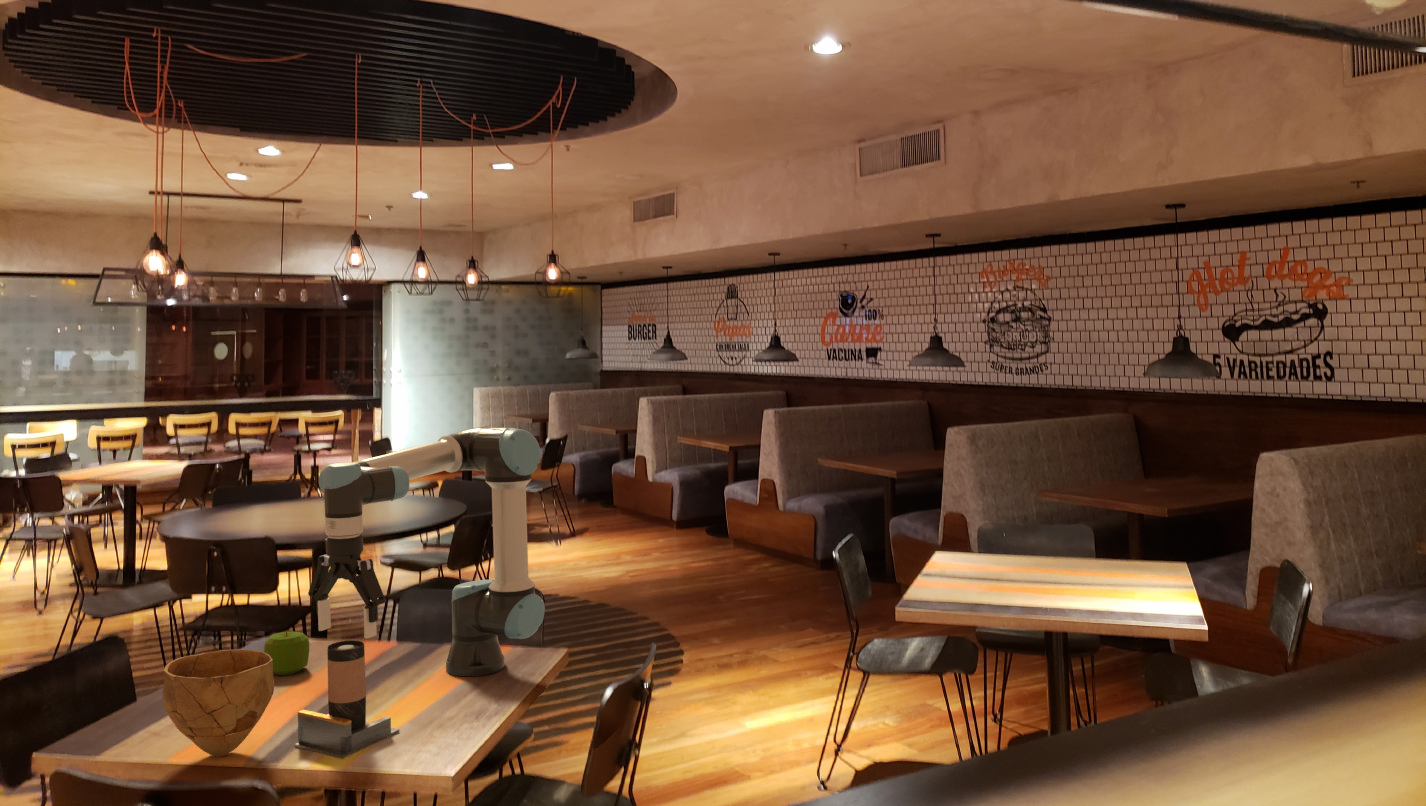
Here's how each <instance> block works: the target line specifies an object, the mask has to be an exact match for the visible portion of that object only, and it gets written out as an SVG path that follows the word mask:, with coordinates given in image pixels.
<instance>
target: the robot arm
mask: <svg viewBox="0 0 1426 806" xmlns="http://www.w3.org/2000/svg"><path fill="white" fill-rule="evenodd" d="M541 455H542V454H541V448H540V445H539V442H538V440H537V438H536V437H535V436H534V435H533V434H532V433H531V432H530V431H528V430H526V429H522V428H517V427H501V426H500V427H497V426H496V427H494V426H478V427H474V428H469V429H465V430H461V431H458V432H454V433H452V434H451V433H450V434H446V435H443V436H441V437H439V439H438V440H437V441H436V442H431V443H430V442H429V443H427V444H424V445H419V446H415V447H409V448H407V449H403V450H399V451H394V452H391V453H387V454H382V455H379V456H378V455H377V456H374V457H370V458H366V459H362V460H358V461H353V462H337V463H329V464H328V465H326V466H324V467H323V468H322V470H321V471H320V473H319V476H318V486H319V489H320V490H321V492H323V500H324V501H323V502H324V520H325V521H324V522H325V524H324V526H325V527H324V528H325V530H324V531H325V535H326V536H327V537H326V538H325V553H326V554H323V555H319V556H318V557H317V566H316V568H315V571H314V575H313V577H312V581H311V584H310V587H309V590H308V593H307V594H308V596H309V597H312V598H314V600H315V603H316V604H315V606H316V609H315V610H316V615H317V620H318V623H317V625H318V626H317V627H318V632H322V631H325V630H329V629H332V623H331V622H332V621H331V619H332V618H331V598H329V597H330V595H329V593H330V592H331V591H332V590H333V588H334V587H335V585H336V583H337V581H338V580H341V579H343V580H345V581H346V580H347V581H348V582H349V583H352V585H353V586H354V589H356V591H357V593H358V594H359V597H360V598H361V599H362V601H363V603H364V604H365V606H364V607H363V634H364V635H363V637H364V639H370V638H373V637H376V636H378V633H377V632H378V630H377V622H378V620H379V615H378V614H379V605H383V604H385V603H386V598H385V595H384V592H383V590H382V587H381V585H380V583H379V579H378V577H377V574H376V572H375V568H374V561H373V559H372V558H368V559H365V560H364V559H363V560H362V558H361V554H362V553H363V551H364V536H363V535H362V533H364V527H363V526H364V525H363V523H364V521H363V506H364V505H368V504H375V503H382V502H383V503H384V502H389V501H390V502H393V501H396V500H399V499H403V498H405V497H406V495H407V494H408V492H409V489H410V480H416V479H418V478H422V477H425V476H429V475H433V474H437V473H441V472H444V471H445V472H448V473H455V472H459V471H476V472H483V473H484V479H485V483H486V484H487V485H489V487H490V488H491V503H492V506H491V507H492V509H491V510H492V534H493V535H492V540H493V541H492V542H493V544H492V545H493V570H494V571H493V573H494V577H493V579H479V580H471V581H466V582H462V583H460V584H457V585H455V586H454V588H453V589H452V591H451V594H452V595H451V625H452V627H451V628H452V631H451V632H452V641H451V645H450V648H449V652H448V655H447V658H446V660H445V666H446V667H445V669H446V673H448V674H450V675H453V676H459V677H479V676H486V675H490V674H491V675H492V674H495V673H496V672H497V673H498V672H499V671H501V670H503V668H505V656H504V654H503V651H502V649H501V644H500V642H499V638H498V636H500V637H505V638H508V639H516V640H517V639H518V640H524V639H525V640H526V639H528V638H530V637H531V636H533V635H534V634H536V633H537V631H538V630H539V627H540V626H541V624H542V623H543V621H544V617H545V610H546V606H545V602H544V600H543V599H542V597H541V596H539V595H538V594H536V592H535V589H536V587H535V586H536V585H535V582H534V581H533V580H532V579H530V577H529V556H528V555H529V553H528V551H529V550H528V547H529V546H528V518H527V517H528V516H527V486H528V485H529V483H530V482H531V481H532V474H533V473H535V472H536V470H537V469H538V468H539V467H538V465H540V461H541Z"/></svg>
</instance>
